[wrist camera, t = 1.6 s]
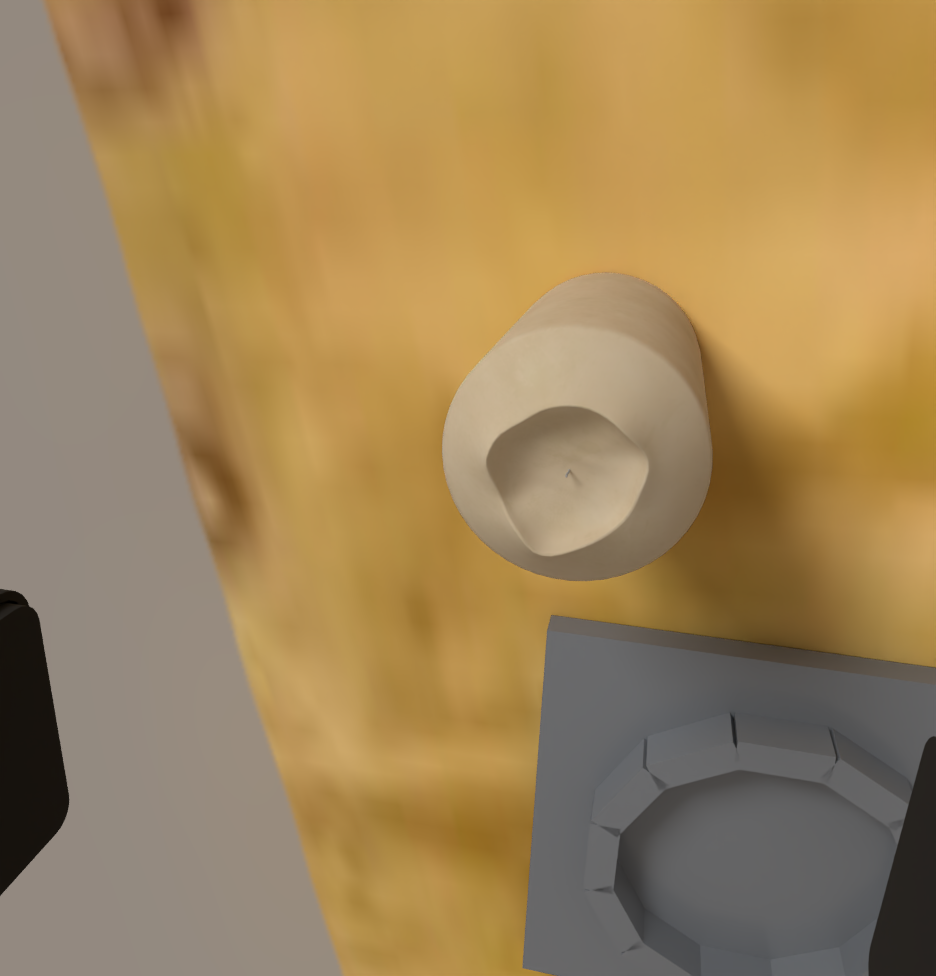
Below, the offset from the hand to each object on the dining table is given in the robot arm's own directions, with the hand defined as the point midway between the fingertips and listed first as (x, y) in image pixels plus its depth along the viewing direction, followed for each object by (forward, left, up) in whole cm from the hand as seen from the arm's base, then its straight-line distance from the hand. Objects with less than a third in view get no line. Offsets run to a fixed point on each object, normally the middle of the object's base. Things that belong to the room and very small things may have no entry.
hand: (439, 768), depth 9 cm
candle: (0, 0, -18) cm, 18 cm away
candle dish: (-7, +16, -18) cm, 25 cm away
